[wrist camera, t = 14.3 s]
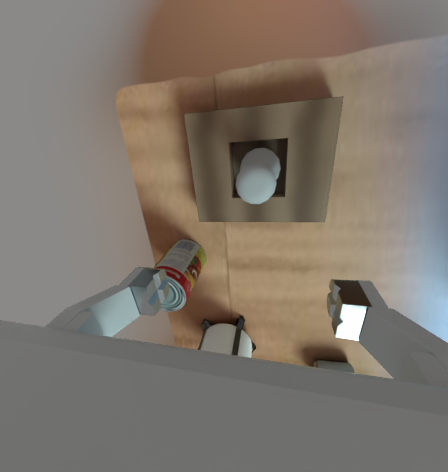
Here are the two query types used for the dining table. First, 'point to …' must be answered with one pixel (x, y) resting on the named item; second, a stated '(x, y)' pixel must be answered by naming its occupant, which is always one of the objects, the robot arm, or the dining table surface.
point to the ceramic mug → (334, 366)
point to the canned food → (181, 272)
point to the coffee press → (226, 339)
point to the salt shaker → (258, 175)
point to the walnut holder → (275, 139)
